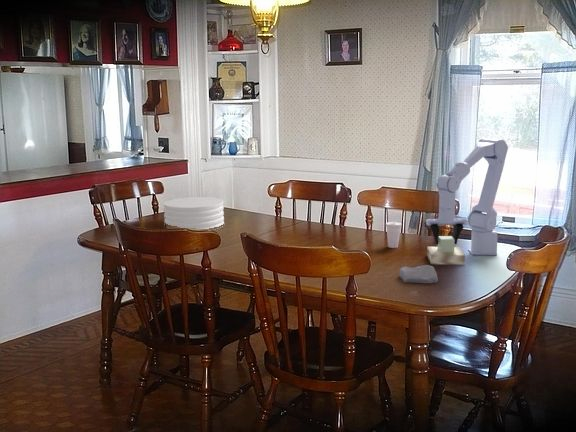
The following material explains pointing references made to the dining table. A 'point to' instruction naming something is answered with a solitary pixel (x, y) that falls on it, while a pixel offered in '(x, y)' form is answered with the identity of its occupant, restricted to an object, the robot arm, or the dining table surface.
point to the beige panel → (445, 256)
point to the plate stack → (194, 212)
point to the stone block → (419, 274)
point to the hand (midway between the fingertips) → (445, 243)
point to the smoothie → (393, 233)
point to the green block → (446, 244)
